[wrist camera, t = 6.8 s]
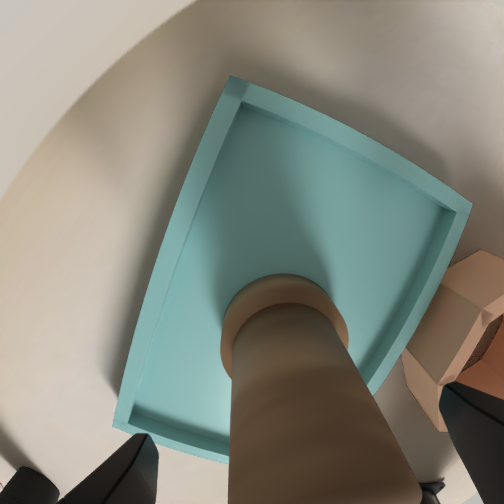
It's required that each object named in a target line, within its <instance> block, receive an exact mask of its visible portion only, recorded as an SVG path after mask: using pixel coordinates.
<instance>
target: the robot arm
mask: <svg viewBox="0 0 504 504" xmlns="http://www.w3.org/2000/svg"><path fill="white" fill-rule="evenodd" d="M438 406H439V411H440V413H441V416H442V418H443V420H444V423H445V425H446V427H447V430H448V432H449V435H450V437H451V440H452V442H453V444H454V446H455V448H456V450H457V452H458V454H459V456H460V458H461V460H462V462H463V463H464V465H465V467H466V469H467V471H468V473H469V475H470V477H471V479H472V481H473V483H474V485H475V487H476V489H477V491H478V493H479V495H480V497H481V499H482V501H483V503H484V504H504V400H503V399H501V398H498V397H496V396H493V395H490V394H488V393H485V392H482V391H480V390H477V389H475V388H472V387H470V386H467V385H465V384H462V383H460V382H457V381H452V382H450V383H447V384H445V385H444V386H443V388H442V392H441V396H440V400H439V405H438ZM158 461H159V454H158V450H157V448H156V446H155V444H154V442H153V440H152V437H151V436H150V434H148V433H135V434H134V435H133V436H132V437H131V438H130V439H129V440H127V441H126V442H125V443H124V444H123V445H122V446H121V447H120V448H119V449H118V450H117V451H115V452H114V453H113V454H112V455H111V456H110V457H109V458H108V459H107V460H105V461H104V462H103V463H102V464H101V465H100V466H99V467H98V468H96V469H95V470H94V471H93V472H92V473H91V474H90V475H88V476H87V477H86V478H85V479H84V480H83V481H82V482H80V483H79V484H78V485H77V486H76V487H75V488H73V489H72V490H71V491H70V492H69V493H68V494H66V495H65V496H64V498H61V499H60V500H59V501H58V502H57V503H55V504H155V502H156V494H157V477H158ZM419 486H420V488H421V490H422V494H423V495H422V500H421V502H420V504H440V502H439V500H438V498H437V496H436V494H437V493H439V492H440V491H441V490H442V489H443V488H444V487H445V484H444V482H440V483H430V484H419Z"/></svg>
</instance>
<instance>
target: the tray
mask: <svg viewBox="0 0 504 504" xmlns="http://www.w3.org/2000/svg"><path fill="white" fill-rule="evenodd" d="M472 206H473V204H472V203H471V202H469V201H468V200H467V199H465V198H464V197H463V196H461V195H460V194H458V193H457V192H456V191H454V190H453V189H451V188H450V187H449V186H447V185H446V184H444V183H443V182H441V181H440V180H438V179H437V178H435V177H434V176H432V175H431V174H429V173H428V172H426V171H425V170H423V169H422V168H420V167H418V166H417V165H415V164H414V163H412V162H411V161H409V160H407V159H406V158H404V157H402V156H401V155H399V154H397V153H396V152H394V151H392V150H391V149H389V148H387V147H385V146H384V145H382V144H380V143H378V142H377V141H375V140H373V139H371V138H369V137H368V136H366V135H364V134H362V133H360V132H358V131H356V130H355V129H353V128H351V127H349V126H347V125H345V124H343V123H341V122H339V121H337V120H335V119H333V118H331V117H329V116H327V115H325V114H323V113H321V112H318V111H316V110H314V109H312V108H310V107H308V106H305V105H303V104H301V103H299V102H296V101H294V100H292V99H290V98H287V97H285V96H283V95H280V94H278V93H275V92H273V91H270V90H268V89H265V88H263V87H260V86H258V85H255V84H253V83H250V82H247V81H244V80H242V79H239V78H236V77H233V76H231V75H230V77H229V79H228V81H227V83H226V85H225V87H224V90H223V92H222V94H221V96H220V98H219V100H218V103H217V105H216V107H215V109H214V112H213V114H212V116H211V118H210V121H209V123H208V125H207V128H206V130H205V132H204V135H203V137H202V139H201V142H200V144H199V146H198V149H197V151H196V154H195V156H194V159H193V161H192V164H191V166H190V169H189V171H188V174H187V176H186V179H185V181H184V184H183V186H182V189H181V192H180V194H179V197H178V200H177V202H176V205H175V208H174V211H173V213H172V216H171V219H170V222H169V224H168V227H167V230H166V233H165V236H164V239H163V242H162V245H161V248H160V251H159V254H158V257H157V260H156V263H155V266H154V269H153V272H152V275H151V278H150V281H149V285H148V288H147V291H146V294H145V298H144V301H143V304H142V308H141V311H140V315H139V318H138V322H137V325H136V329H135V333H134V336H133V340H132V344H131V347H130V351H129V355H128V359H127V363H126V367H125V371H124V375H123V379H122V384H121V388H120V392H119V397H118V401H117V406H116V410H115V415H114V420H113V425H112V426H113V427H115V428H117V429H120V430H122V431H125V432H127V433H130V434H132V435H134V434H135V433H148V434H150V436H151V437H152V440H153V442H154V443H156V444H159V445H162V446H165V447H168V448H171V449H174V450H178V451H181V452H184V453H187V454H191V455H194V456H198V457H201V458H205V459H209V460H212V461H216V462H220V463H225V464H229V442H230V411H231V384H232V380H231V378H230V377H229V376H228V374H227V373H226V371H225V369H224V367H223V364H222V361H221V355H220V342H221V334H222V325H223V319H224V314H225V311H226V309H227V307H228V305H229V303H230V301H231V300H232V298H233V297H234V296H235V295H236V293H237V292H238V291H239V290H240V289H242V288H243V287H244V286H245V285H247V284H249V283H250V282H252V281H254V280H256V279H258V278H261V277H264V276H267V275H272V274H280V273H286V274H295V275H299V276H302V277H305V278H308V279H310V280H312V281H313V282H315V283H316V284H318V285H319V286H320V287H321V288H322V289H324V291H325V292H326V293H327V294H328V296H329V297H330V299H331V300H332V302H333V303H334V304H335V306H336V307H337V309H338V310H339V312H340V313H341V315H342V317H343V318H344V320H345V323H346V325H347V329H348V335H349V344H348V350H347V351H348V353H349V355H350V356H351V358H352V360H353V362H354V364H355V365H356V367H357V369H358V371H359V373H360V374H361V376H362V378H363V380H364V382H365V383H366V385H367V387H368V389H369V391H370V392H371V394H372V396H374V394H375V393H376V392H377V390H378V389H379V387H380V386H381V384H382V383H383V381H384V380H385V378H386V377H387V375H388V374H389V372H390V371H391V369H392V368H393V366H394V365H395V363H396V361H397V360H398V358H399V357H400V355H401V353H402V352H403V350H404V349H405V347H406V345H407V344H408V342H409V340H410V338H411V337H412V335H413V333H414V332H415V330H416V328H417V326H418V324H419V323H420V321H421V319H422V317H423V315H424V314H425V312H426V310H427V308H428V306H429V304H430V302H431V300H432V298H433V296H434V294H435V292H436V290H437V288H438V286H439V284H440V282H441V280H442V278H443V276H444V274H445V272H446V270H447V267H448V265H449V263H450V261H451V259H452V256H453V254H454V252H455V249H456V247H457V245H458V242H459V240H460V238H461V235H462V233H463V230H464V228H465V225H466V222H467V220H468V217H469V214H470V212H471V209H472Z"/></svg>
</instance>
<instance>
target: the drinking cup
mask: <svg viewBox="0 0 504 504" xmlns="http://www.w3.org/2000/svg"><path fill="white" fill-rule="evenodd" d="M59 495H60V493H59V490H58V489H57V487H56V486H55V485H54V484H53V483H52V482H51V481H49V480H48V479H47V478H45V477H44V476H43V475H41V474H40V473H38V472H36V471H34V470H32V469H30V468H27V467H20V468H19V469H18V471H17V472H16V473H15V474H14V476H13V477H12V478H11V479H10V481H9V482H8V483H7V485H6V486H5V487H4V488H3V490H2V491H1V492H0V504H55V503H57V501H58V498H59Z"/></svg>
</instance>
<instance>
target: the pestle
mask: <svg viewBox="0 0 504 504" xmlns="http://www.w3.org/2000/svg"><path fill="white" fill-rule="evenodd" d="M348 344H349V335H348V329H347V325H346V323H345V320H344V318H343V317H342V315H341V313H340V312H339V310H338V309H337V307H336V306H335V304H334V303H333V302H332V300H331V299H330V297H329V296H328V294H327V293H326V292H325V291H324V289H322V288H321V287H320V286H319V285H318V284H316V283H315V282H313V281H312V280H310V279H308V278H305V277H302V276H299V275H295V274H286V273H280V274H272V275H267V276H264V277H261V278H258V279H256V280H254V281H252V282H250V283H249V284H247V285H245V286H244V287H243V288H242V289H240V290H239V291H238V292H237V293H236V295H235V296H234V297H233V298H232V300H231V301H230V303H229V305H228V307H227V309H226V311H225V314H224V319H223V325H222V334H221V342H220V355H221V361H222V364H223V367H224V369H225V371H226V373H227V374H228V376H229V377H230V378H231V380H232V384H231V411H230V442H229V477H228V504H420V502H421V500H422V495H423V494H422V490H421V488H420V486H419V484H418V482H417V480H416V478H415V476H414V474H413V472H412V470H411V468H410V466H409V464H408V462H407V460H406V458H405V456H404V454H403V452H402V450H401V449H400V447H399V445H398V443H397V441H396V439H395V437H394V435H393V433H392V431H391V430H390V428H389V426H388V424H387V422H386V420H385V418H384V416H383V415H382V413H381V411H380V409H379V407H378V405H377V403H376V402H375V400H374V398H373V396H372V394H371V392H370V391H369V389H368V387H367V385H366V383H365V382H364V380H363V378H362V376H361V374H360V373H359V371H358V369H357V367H356V365H355V364H354V362H353V360H352V358H351V356H350V355H349V353H348V351H347V350H348Z"/></svg>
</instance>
